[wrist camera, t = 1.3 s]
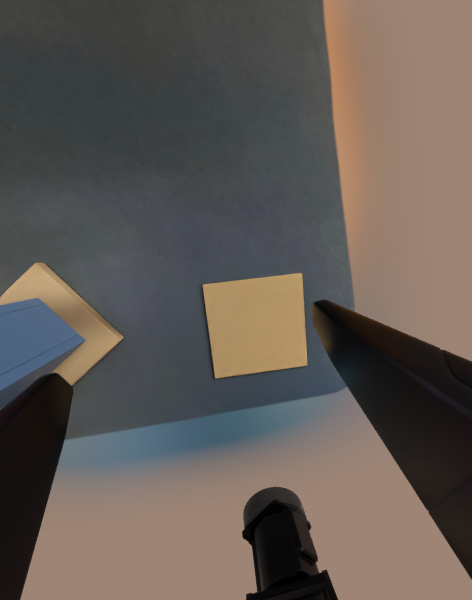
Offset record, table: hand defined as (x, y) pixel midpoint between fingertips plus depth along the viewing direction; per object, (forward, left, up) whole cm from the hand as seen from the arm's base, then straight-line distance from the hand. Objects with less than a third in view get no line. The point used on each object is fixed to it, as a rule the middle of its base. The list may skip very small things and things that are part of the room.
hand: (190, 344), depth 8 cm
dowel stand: (-14, +9, -15) cm, 22 cm away
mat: (0, -6, -15) cm, 16 cm away
